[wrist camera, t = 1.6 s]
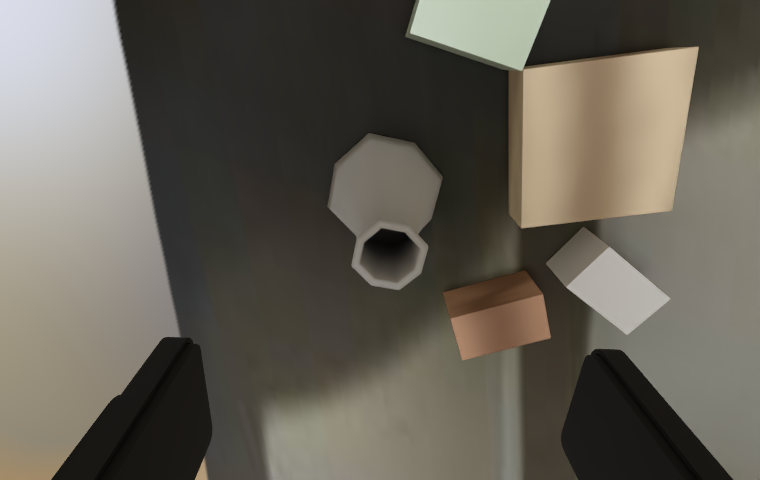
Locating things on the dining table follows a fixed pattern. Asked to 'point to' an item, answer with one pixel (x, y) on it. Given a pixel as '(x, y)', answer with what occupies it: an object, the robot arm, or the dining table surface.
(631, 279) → the grey brick
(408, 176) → the flask
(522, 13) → the sage brick
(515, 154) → the oak block
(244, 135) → the dining table surface
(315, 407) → the dining table surface
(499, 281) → the cherry brick
